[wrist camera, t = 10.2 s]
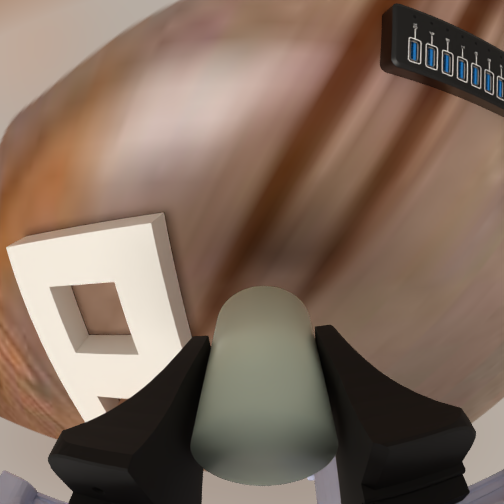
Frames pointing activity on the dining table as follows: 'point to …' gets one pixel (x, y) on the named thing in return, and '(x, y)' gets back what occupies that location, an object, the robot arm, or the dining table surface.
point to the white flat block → (131, 297)
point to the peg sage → (264, 394)
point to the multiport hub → (442, 57)
